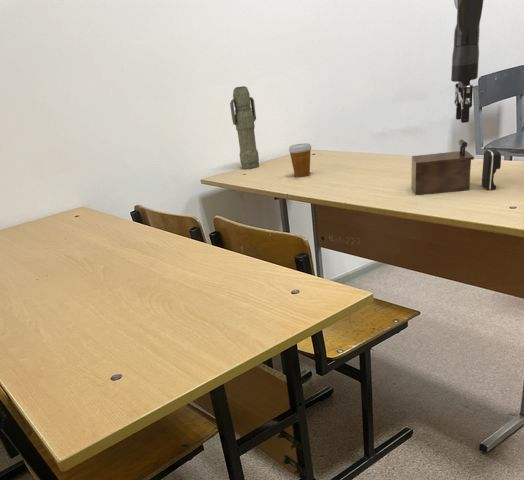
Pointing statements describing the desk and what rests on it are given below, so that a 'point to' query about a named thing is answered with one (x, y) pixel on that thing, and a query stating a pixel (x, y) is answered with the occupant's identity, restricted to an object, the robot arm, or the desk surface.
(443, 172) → the chest
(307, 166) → the disposable coffee cup
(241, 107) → the stone idol statue
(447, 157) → the lid
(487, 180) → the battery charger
